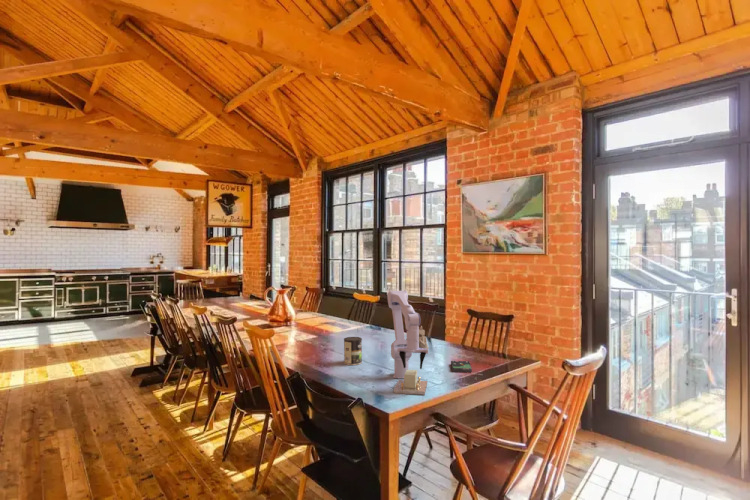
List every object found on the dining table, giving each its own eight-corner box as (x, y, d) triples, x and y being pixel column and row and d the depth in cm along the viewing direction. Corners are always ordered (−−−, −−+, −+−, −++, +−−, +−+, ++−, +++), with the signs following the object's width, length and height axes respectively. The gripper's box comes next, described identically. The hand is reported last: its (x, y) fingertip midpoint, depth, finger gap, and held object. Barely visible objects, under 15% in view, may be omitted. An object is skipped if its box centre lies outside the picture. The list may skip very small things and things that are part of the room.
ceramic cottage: (406, 345, 282) (407, 323, 281) (430, 347, 277) (431, 325, 275) (400, 352, 267) (401, 329, 266) (426, 355, 262) (426, 331, 261)
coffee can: (363, 360, 244) (363, 336, 244) (359, 365, 234) (359, 340, 234) (346, 360, 246) (346, 336, 246) (341, 364, 236) (341, 340, 236)
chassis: (398, 382, 204) (398, 374, 204) (427, 384, 201) (427, 375, 201) (393, 393, 190) (393, 384, 190) (424, 395, 187) (424, 386, 187)
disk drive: (450, 365, 236) (452, 373, 221) (450, 360, 236) (452, 367, 221) (469, 365, 234) (472, 373, 220) (469, 360, 234) (472, 368, 220)
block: (406, 382, 200) (406, 369, 200) (417, 382, 199) (417, 370, 199) (404, 387, 192) (404, 374, 192) (415, 388, 191) (415, 375, 191)
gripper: (396, 340, 194) (396, 369, 194) (427, 341, 191) (427, 371, 191) (398, 337, 201) (398, 365, 201) (428, 338, 198) (428, 366, 198)
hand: (412, 367), depth 197 cm, fingers open, 7 cm apart
